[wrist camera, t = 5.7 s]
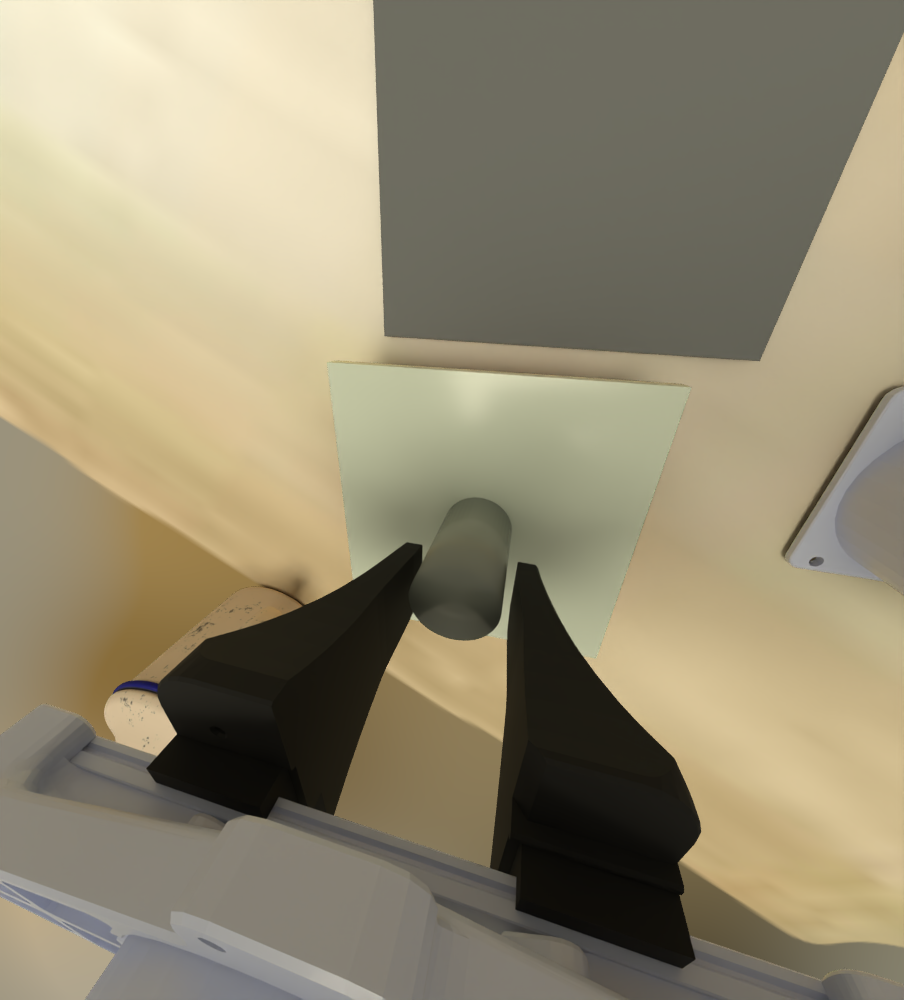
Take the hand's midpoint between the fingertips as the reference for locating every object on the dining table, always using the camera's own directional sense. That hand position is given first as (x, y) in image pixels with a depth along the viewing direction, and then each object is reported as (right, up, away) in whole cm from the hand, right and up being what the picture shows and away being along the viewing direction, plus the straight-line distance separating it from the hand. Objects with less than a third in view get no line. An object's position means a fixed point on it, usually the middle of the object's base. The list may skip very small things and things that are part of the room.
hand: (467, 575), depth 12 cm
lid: (+1, +2, +2) cm, 3 cm away
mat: (+4, +16, -1) cm, 17 cm away
